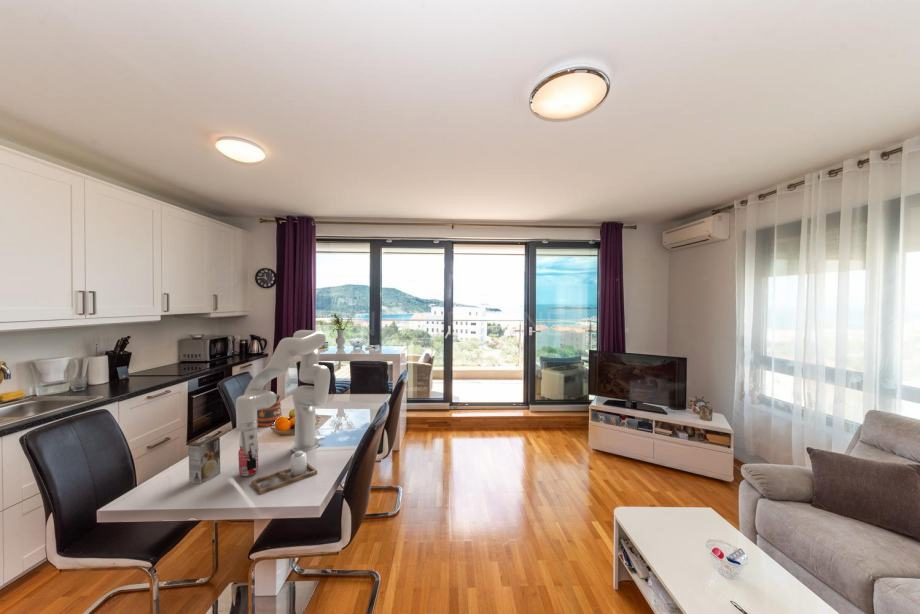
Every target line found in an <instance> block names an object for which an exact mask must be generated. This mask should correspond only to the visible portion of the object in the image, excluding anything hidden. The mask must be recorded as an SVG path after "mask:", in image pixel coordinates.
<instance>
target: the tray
mask: <svg viewBox="0 0 920 614" xmlns="http://www.w3.org/2000/svg"><path fill="white" fill-rule="evenodd" d="M317 474H318V469H316V468H315V467H313V466H312V465H310V464H309V463H308V462H307V473H306V474H303V475H300V476H297V477H292V476H291V467H288V468H285V469H282V470H279V471H277V472H273V473H271V474H267V475H263V476H261V477H258V478H255V479H252V480H251V481H250V484H251V486H252V487H254V489H255V490H256V491H257V493H259V495H262V494H266V493H268V492H271V491H274V490H276V489H280V488H282V487H284V486H288V485H290V484H294V483H297V482H298V481H301V480H304V479H307V478H310V477H312V476H315V475H317ZM277 477H279V478H277ZM259 483H260V484H259Z"/></svg>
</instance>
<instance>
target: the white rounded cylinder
mask: <svg viewBox="0 0 920 614" xmlns="http://www.w3.org/2000/svg"><path fill="white" fill-rule="evenodd" d="M307 457H308V456H307V453H306V452H303V451H296V452H294V453H292V454H291V455H290V468H291V472H290V473H291V476H292V477H297V476H300V475H303V474H306V473H307V470H308V469H307V463H308V462H307Z"/></svg>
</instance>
